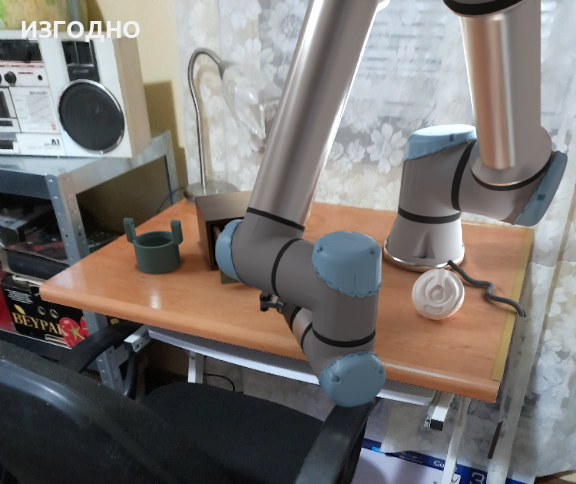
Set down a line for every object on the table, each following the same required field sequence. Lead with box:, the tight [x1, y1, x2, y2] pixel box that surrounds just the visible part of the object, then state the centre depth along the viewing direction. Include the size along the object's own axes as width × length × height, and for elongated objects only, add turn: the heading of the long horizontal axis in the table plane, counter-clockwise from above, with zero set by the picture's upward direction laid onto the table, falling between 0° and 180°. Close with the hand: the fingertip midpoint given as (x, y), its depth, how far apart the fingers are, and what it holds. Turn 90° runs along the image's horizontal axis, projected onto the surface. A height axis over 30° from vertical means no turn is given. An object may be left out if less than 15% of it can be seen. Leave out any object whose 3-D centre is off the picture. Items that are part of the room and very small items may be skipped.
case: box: [194, 189, 253, 271], centre depth 104 cm, size 14×13×10 cm
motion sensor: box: [411, 268, 465, 321], centre depth 84 cm, size 8×8×8 cm
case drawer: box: [210, 222, 241, 286], centre depth 97 cm, size 14×11×8 cm
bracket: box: [122, 217, 184, 275], centre depth 100 cm, size 9×9×9 cm
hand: (272, 253), depth 91 cm, fingers closed
